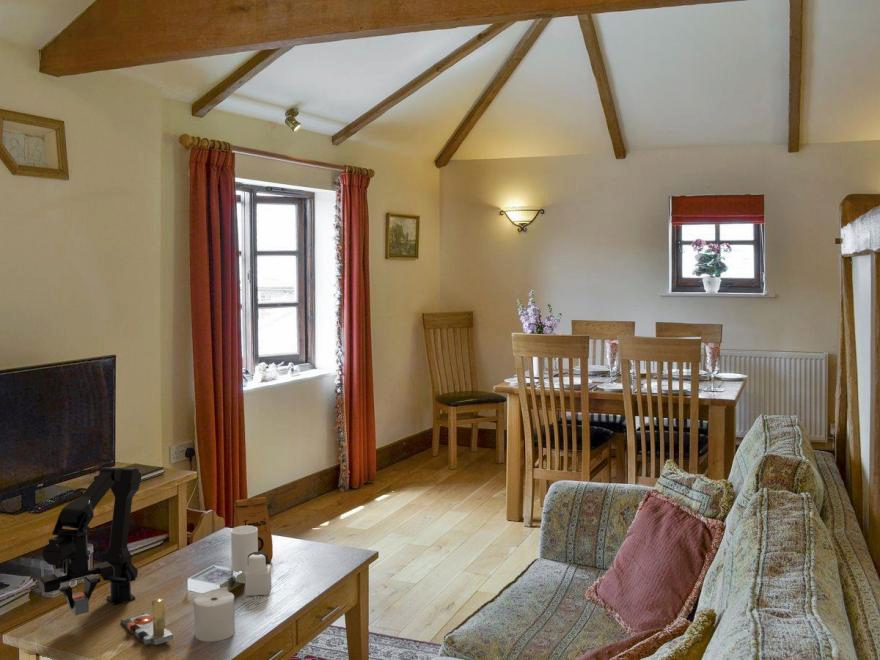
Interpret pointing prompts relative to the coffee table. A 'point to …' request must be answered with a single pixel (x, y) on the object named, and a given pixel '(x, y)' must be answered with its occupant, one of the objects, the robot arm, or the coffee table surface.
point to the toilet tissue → (214, 615)
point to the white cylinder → (243, 546)
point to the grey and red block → (79, 603)
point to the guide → (124, 623)
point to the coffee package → (255, 521)
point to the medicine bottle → (258, 575)
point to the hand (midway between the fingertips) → (78, 606)
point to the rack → (152, 625)
